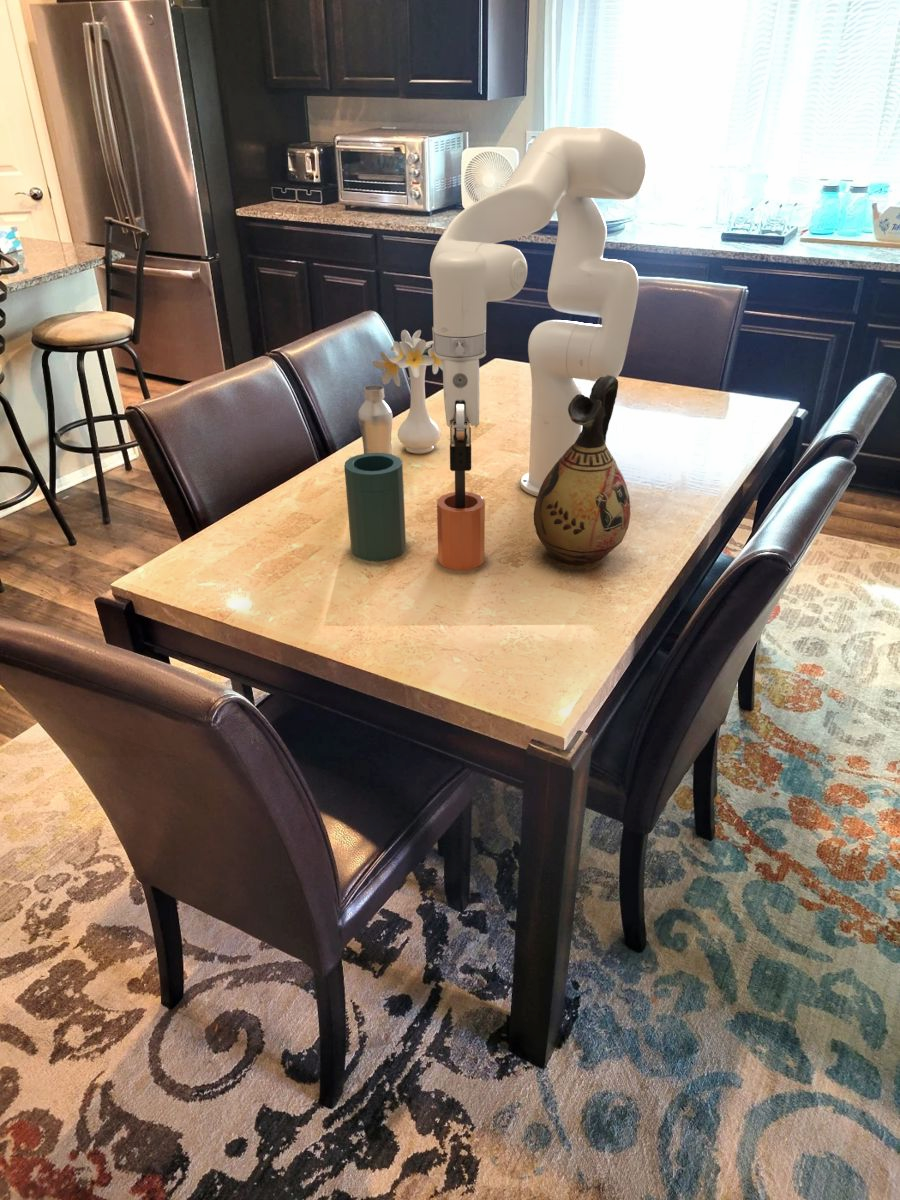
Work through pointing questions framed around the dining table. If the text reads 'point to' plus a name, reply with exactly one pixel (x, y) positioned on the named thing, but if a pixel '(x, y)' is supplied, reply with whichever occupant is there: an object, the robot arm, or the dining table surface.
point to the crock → (461, 532)
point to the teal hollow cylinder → (376, 506)
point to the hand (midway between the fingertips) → (460, 459)
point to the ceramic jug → (585, 488)
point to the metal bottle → (375, 421)
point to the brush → (460, 489)
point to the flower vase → (413, 389)
